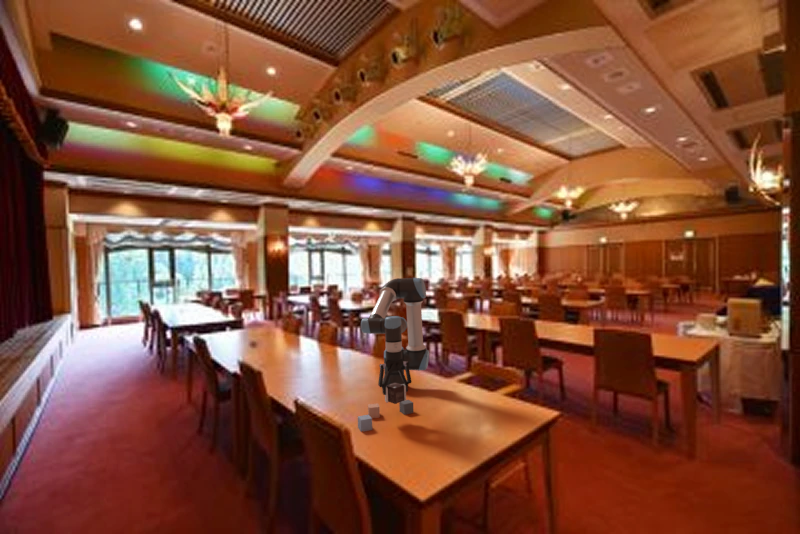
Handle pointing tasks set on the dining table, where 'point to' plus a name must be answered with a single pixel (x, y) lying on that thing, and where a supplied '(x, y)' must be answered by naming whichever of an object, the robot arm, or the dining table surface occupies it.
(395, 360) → the robot arm
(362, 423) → the cube slate
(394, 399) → the box
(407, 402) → the cube charcoal
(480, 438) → the dining table surface
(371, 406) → the cube terracotta
